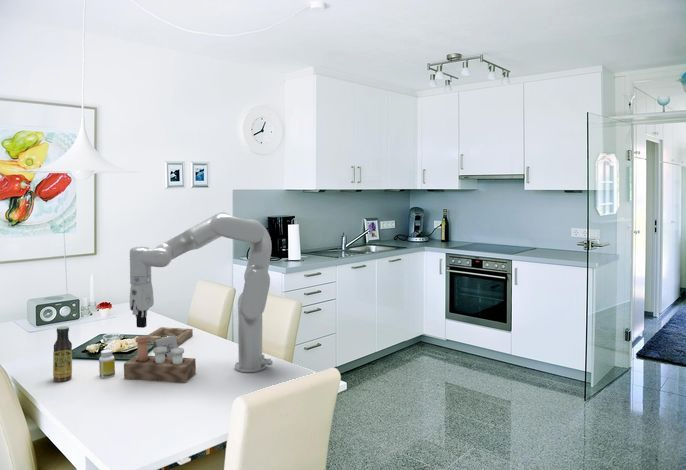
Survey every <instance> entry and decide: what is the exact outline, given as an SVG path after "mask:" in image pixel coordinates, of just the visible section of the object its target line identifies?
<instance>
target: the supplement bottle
mask: <svg viewBox="0 0 686 470" xmlns="http://www.w3.org/2000/svg"><path fill="white" fill-rule="evenodd" d="M98 362H99V365H98V368H99V369H98V371H99V377H100V378H101V379H102V378H103V379H108V378H112V377H114V376H116V375H115V374H116V366H115V365H116V364H115V363H116V359H115V356H114V355H113V350H112V349H109V348H107V349H104V350H101V351H100V357H99V359H98Z"/></svg>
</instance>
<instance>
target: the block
mask: <svg viewBox="0 0 686 470" xmlns="http://www.w3.org/2000/svg"><path fill="white" fill-rule="evenodd" d="M182 360H183V363H182V364H173V357H165V362H164V363H155V355H148V361H147V362H138V354H137V355H135V356H133V357H132V358H130V359H129V360H127V361H126V362H124V363H123V379H124V380H133V381H135V380H136V381H146V382H147V381H148V382H149V381H150V382H164V383H176V384H177V383H178V384H186V383H187V382H188V381H189V380H190V379H191V378H192V377H194V375H196V374H197V373H196V371H197V369H196V362H197V361H196V358H194V357H193V358H192V357H182Z"/></svg>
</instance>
